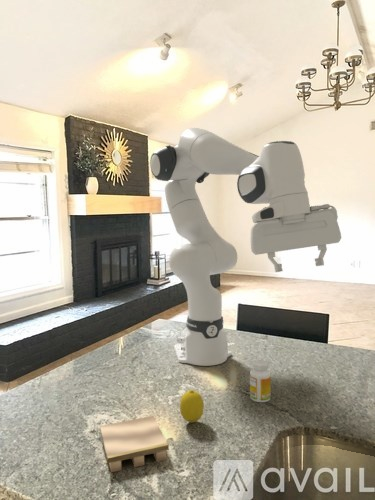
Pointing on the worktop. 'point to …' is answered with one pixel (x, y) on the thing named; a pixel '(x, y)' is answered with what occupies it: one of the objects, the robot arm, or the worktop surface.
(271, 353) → the worktop surface
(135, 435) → the platform
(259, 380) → the supplement bottle
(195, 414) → the lemon
